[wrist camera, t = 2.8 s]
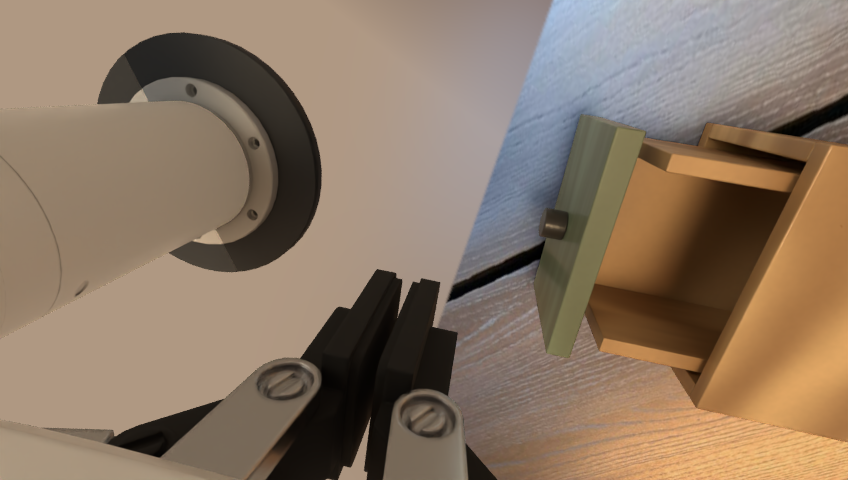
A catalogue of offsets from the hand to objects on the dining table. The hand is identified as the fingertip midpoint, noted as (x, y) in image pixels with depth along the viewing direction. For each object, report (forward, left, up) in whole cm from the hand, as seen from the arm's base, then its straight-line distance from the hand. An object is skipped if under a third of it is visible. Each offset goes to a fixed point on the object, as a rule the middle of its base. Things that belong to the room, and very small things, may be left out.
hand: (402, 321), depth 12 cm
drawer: (+11, -6, -16) cm, 20 cm away
